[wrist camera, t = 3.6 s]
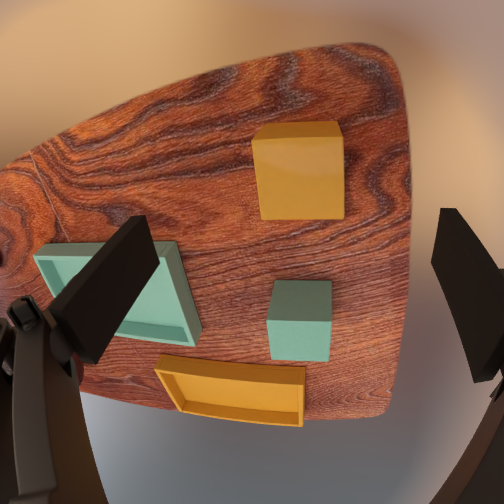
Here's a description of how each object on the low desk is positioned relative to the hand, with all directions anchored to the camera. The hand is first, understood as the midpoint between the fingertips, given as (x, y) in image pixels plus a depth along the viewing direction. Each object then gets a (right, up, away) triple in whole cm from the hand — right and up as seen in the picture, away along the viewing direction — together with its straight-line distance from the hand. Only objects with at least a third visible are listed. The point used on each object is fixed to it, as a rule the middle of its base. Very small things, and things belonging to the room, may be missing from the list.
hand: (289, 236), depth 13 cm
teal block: (+3, -5, +16) cm, 17 cm away
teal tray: (-16, -4, +19) cm, 26 cm away
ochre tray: (-4, -18, +26) cm, 32 cm away
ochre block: (+2, +6, +8) cm, 10 cm away
